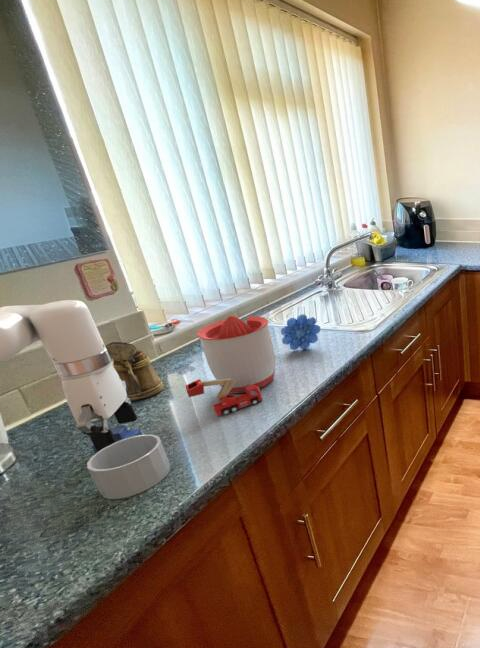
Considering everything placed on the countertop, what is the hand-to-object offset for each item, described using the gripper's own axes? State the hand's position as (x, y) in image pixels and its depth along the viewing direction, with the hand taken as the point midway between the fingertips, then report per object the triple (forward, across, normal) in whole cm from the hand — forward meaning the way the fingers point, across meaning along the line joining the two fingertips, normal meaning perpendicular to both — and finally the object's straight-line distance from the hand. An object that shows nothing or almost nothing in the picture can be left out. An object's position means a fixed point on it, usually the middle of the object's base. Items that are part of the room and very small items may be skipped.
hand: (118, 434), depth 85 cm
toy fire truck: (+4, -7, +18) cm, 20 cm away
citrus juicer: (+4, -21, +20) cm, 29 cm away
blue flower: (+4, -39, +33) cm, 51 cm away
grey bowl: (+3, +13, +6) cm, 15 cm away
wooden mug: (+3, -24, -5) cm, 25 cm away
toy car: (+3, 0, -1) cm, 3 cm away
